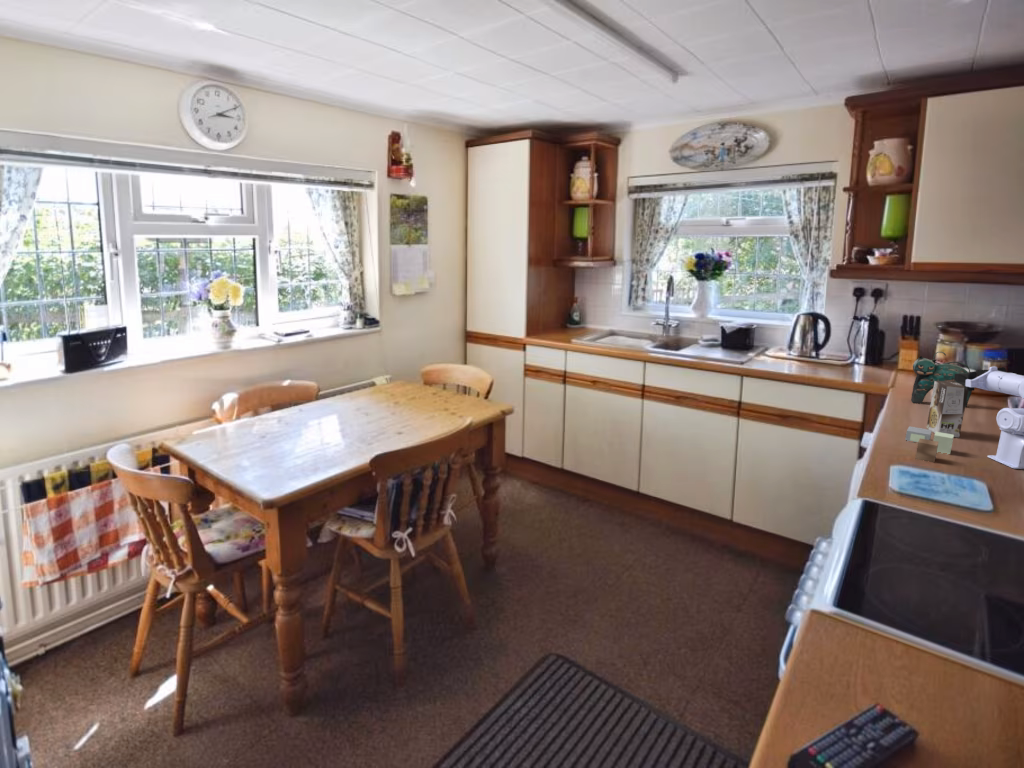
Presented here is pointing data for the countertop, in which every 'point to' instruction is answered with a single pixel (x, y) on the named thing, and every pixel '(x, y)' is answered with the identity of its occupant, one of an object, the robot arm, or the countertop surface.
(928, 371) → the ceramic cat
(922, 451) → the walnut block
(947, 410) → the coffee box
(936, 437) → the sage block
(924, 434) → the base block
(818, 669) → the countertop surface
